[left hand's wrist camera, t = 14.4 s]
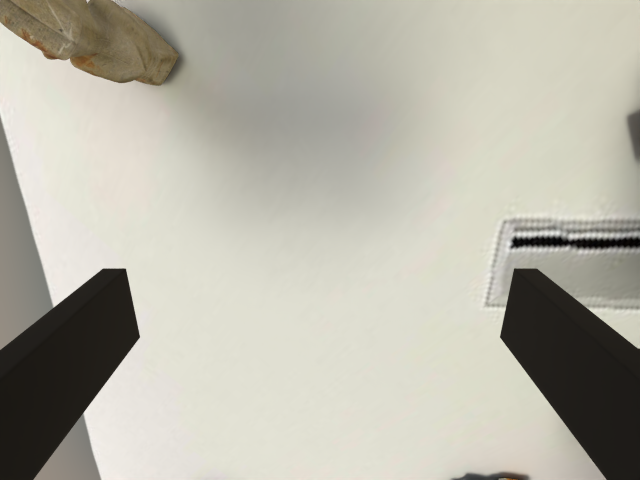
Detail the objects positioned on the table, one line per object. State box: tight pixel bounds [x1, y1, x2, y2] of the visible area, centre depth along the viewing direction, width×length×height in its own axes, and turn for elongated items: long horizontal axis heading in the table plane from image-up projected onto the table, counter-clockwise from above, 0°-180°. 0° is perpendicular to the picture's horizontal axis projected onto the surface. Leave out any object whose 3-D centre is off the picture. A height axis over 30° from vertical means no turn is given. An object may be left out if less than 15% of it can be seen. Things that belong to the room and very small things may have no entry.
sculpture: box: [0, 0, 178, 86], centre depth 30 cm, size 6×7×15 cm
